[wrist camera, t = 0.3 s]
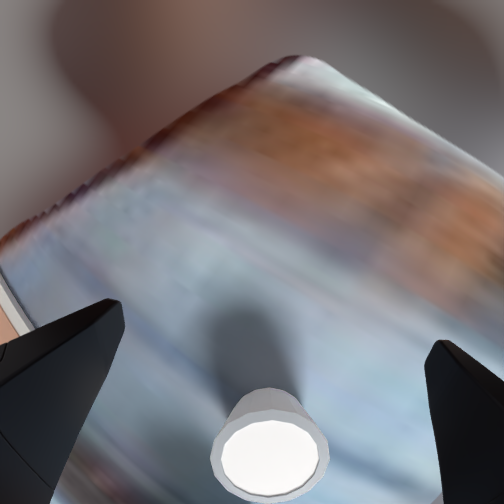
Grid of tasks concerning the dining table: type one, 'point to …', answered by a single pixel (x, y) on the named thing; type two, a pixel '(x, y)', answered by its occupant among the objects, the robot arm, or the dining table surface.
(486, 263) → the dining table surface
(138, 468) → the dining table surface
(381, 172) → the dining table surface
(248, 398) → the white cup
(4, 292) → the white board with socket
